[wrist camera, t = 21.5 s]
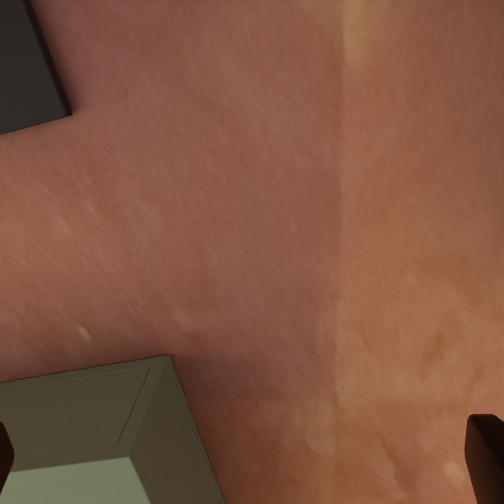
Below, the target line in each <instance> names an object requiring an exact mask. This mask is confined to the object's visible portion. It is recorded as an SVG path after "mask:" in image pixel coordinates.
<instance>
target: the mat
mask: <svg viewBox="0 0 504 504" xmlns="http://www.w3.org/2000/svg"><path fill="white" fill-rule="evenodd" d="M71 115H72V111H71V109H70V106H69V104H68V101H67V98H66V96H65V93H64V90H63V88H62V85H61V82H60V80H59V77H58V75H57V72H56V69H55V67H54V64H53V61H52V59H51V56H50V53H49V51H48V48H47V46H46V43H45V40H44V38H43V35H42V32H41V30H40V27H39V24H38V22H37V19H36V17H35V14H34V11H33V9H32V6H31V3H30V1H29V0H0V134H4V133H8V132H11V131H15V130H19V129H23V128H26V127H30V126H34V125H38V124H42V123H45V122H49V121H53V120H57V119H61V118H64V117H68V116H71Z"/></svg>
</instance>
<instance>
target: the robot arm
mask: <svg viewBox="0 0 504 504" xmlns="http://www.w3.org/2000/svg"><path fill="white" fill-rule="evenodd" d="M464 450H465V459H466V464H467V468H468V471H469V475H470V478H471V482H472V486H473V489H474V493H475V496H476V500H477V504H504V422H503V421H502V420H501V419H499V418H498V417H497V416H495V415H493V414H472V415H470V416H469V418H468V420H467V429H466V438H465V449H464ZM14 457H15V453H14V448H13V446H12V443H11V441H10V438H9V436H8V433H7V430H6V428H5V426H4V424H3V423H2V422H1V421H0V495H1V492H2V490H3V487H4V485H5V483H6V480H7V478H8V475H9V473H10V470H11V468H12V466H13V462H14Z"/></svg>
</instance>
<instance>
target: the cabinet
mask: <svg viewBox="0 0 504 504" xmlns="http://www.w3.org/2000/svg"><path fill="white" fill-rule="evenodd" d="M0 421H1V422H2V423H3V424H4V426H5V428H6V430H7V433H8V436H9V438H10V441H11V443H12V446H13V448H14V453H15V457H14V462H13V466H12V468H11V470H10V473H9V475H8V478H7V480H6V483H5V485H4V487H3V490H2V492H1V495H0V504H225V501H224V499H223V496H222V493H221V491H220V488H219V485H218V483H217V480H216V477H215V475H214V472H213V469H212V467H211V464H210V461H209V459H208V456H207V453H206V451H205V448H204V445H203V443H202V440H201V437H200V435H199V432H198V429H197V426H196V424H195V421H194V418H193V416H192V413H191V410H190V408H189V405H188V402H187V400H186V397H185V394H184V392H183V389H182V386H181V384H180V381H179V378H178V376H177V373H176V370H175V368H174V365H173V362H172V360H171V357H170V355H164V356H158V357H152V358H146V359H140V360H134V361H128V362H122V363H116V364H110V365H104V366H98V367H92V368H86V369H80V370H74V371H68V372H62V373H56V374H50V375H44V376H38V377H32V378H26V379H20V380H14V381H8V382H2V383H0Z"/></svg>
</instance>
